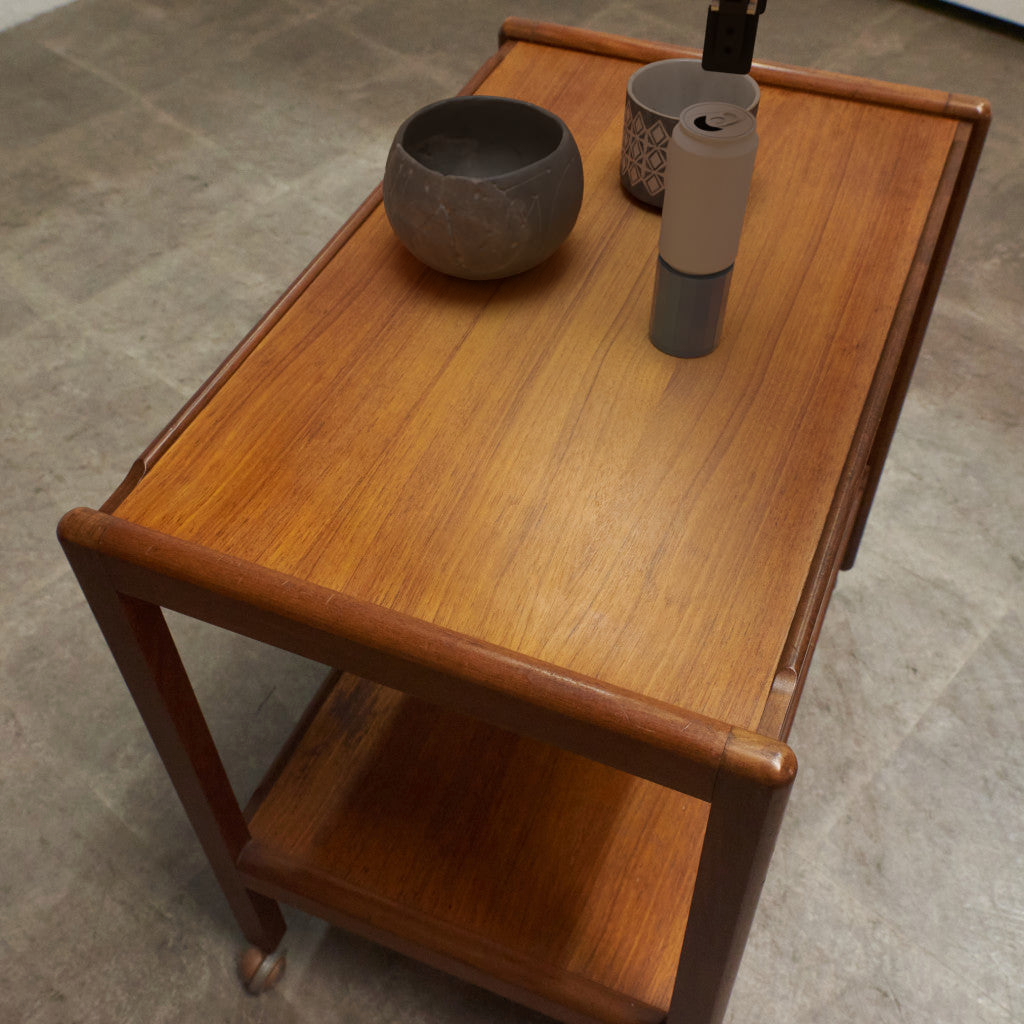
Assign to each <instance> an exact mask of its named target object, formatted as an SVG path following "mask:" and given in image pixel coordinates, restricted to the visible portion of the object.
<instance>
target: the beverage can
mask: <svg viewBox="0 0 1024 1024" xmlns="http://www.w3.org/2000/svg"><path fill="white" fill-rule="evenodd" d="M757 126H758V122H757V118H755V117H754V115H753V114H752V113H750V112H749V111H748V110H746V109H744V108H742V107H740V106H737V105H733V104H729V103H723V102H702V103H697V104H694V105H691V106H689V107H687V108H685V109H684V110H683V111H682V112H681V114H680V118H679V122H678V124H677V125H676V126H675V127H674V129H673V132H672V140H671V148H670V156H669V164H668V172H667V180H666V188H665V196H664V204H663V208H662V213H661V221H660V229H659V235H658V236H659V237H658V246H657V247H658V253H660V255H661V257H662V258H663V259H664V260H665V261H666V262H667V263H668V264H669V265H670V266H671V267H672V268H673V269H675V270H677V271H679V272H681V273H685V274H689V275H709V274H713V273H716V272H718V271H721V270H723V269H726V268H727V267H729V266H730V265H731V264H732V263H733V262H734V261H735V262H736V259H737V257H738V253H739V248H740V242H741V238H742V232H743V226H744V221H745V216H746V212H747V206H748V200H749V196H750V190H751V185H752V179H753V174H754V170H755V165H756V158H757V155H758V154H757V153H758V148H759V144H760V143H759V142H760V136H759V134H758V131H757Z"/></svg>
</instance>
